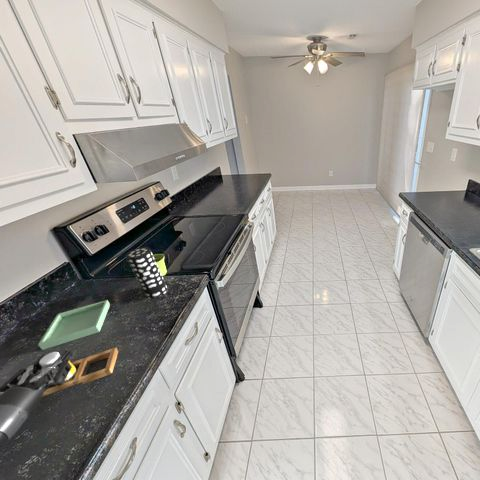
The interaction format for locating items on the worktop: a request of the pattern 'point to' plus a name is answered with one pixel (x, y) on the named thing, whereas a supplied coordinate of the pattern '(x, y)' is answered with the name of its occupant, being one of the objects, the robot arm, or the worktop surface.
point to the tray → (75, 324)
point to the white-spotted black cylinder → (147, 272)
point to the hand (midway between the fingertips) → (58, 353)
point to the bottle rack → (92, 376)
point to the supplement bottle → (52, 359)
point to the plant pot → (160, 263)
